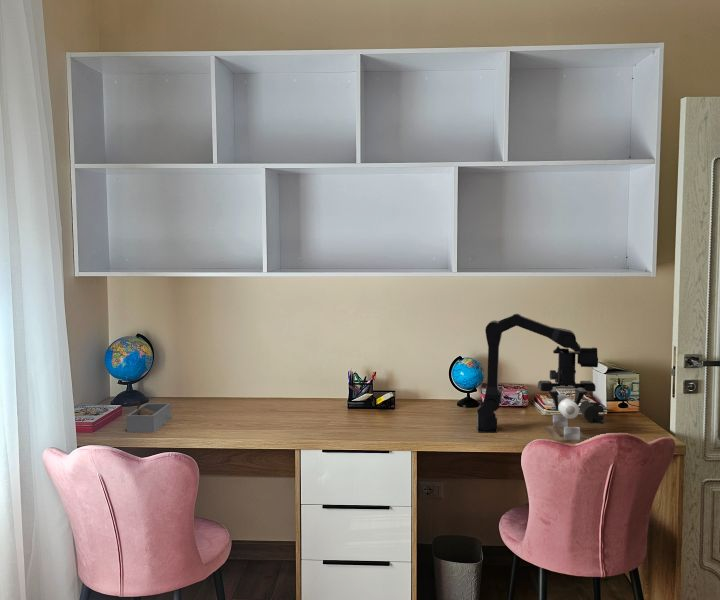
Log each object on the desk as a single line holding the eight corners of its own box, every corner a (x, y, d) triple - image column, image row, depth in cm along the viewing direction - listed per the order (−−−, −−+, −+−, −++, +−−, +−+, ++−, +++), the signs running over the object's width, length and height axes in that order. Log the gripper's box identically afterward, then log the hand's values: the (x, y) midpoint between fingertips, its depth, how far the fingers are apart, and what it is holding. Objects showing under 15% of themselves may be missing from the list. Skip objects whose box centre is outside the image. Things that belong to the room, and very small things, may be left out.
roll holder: (555, 442, 239) (556, 428, 238) (544, 428, 257) (544, 415, 256) (588, 442, 238) (588, 428, 238) (574, 428, 256) (575, 415, 256)
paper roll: (560, 417, 241) (563, 400, 240) (552, 408, 253) (555, 392, 253) (577, 420, 241) (580, 403, 240) (568, 411, 253) (571, 395, 253)
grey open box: (125, 424, 264) (125, 401, 264) (131, 421, 269) (131, 399, 268) (158, 427, 261) (158, 404, 260) (164, 424, 265) (164, 401, 264)
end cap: (579, 417, 274) (579, 400, 274) (598, 417, 273) (598, 400, 273) (584, 423, 264) (584, 405, 264) (603, 424, 263) (604, 406, 263)
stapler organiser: (126, 432, 255) (126, 415, 254) (146, 418, 275) (145, 403, 274) (154, 432, 254) (153, 415, 254) (171, 418, 274) (170, 403, 274)
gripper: (587, 362, 253) (586, 405, 254) (535, 362, 254) (534, 404, 255) (596, 367, 242) (595, 412, 243) (541, 367, 243) (541, 412, 244)
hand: (566, 410), depth 247 cm, fingers closed on paper roll, 6 cm apart
